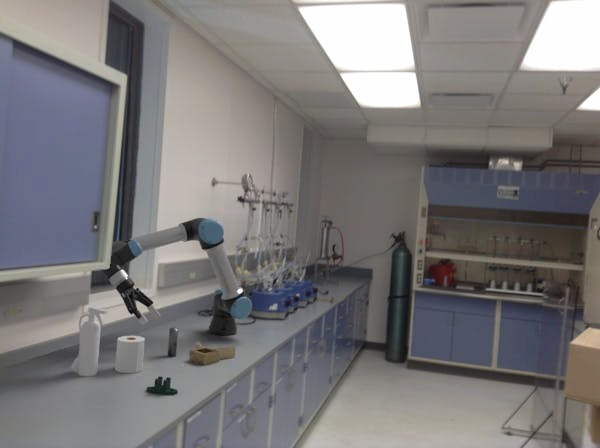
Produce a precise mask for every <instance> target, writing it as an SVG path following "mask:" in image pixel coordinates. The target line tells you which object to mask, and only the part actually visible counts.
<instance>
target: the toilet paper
mask: <svg viewBox="0 0 600 448" xmlns="http://www.w3.org/2000/svg"><path fill="white" fill-rule="evenodd" d="M145 340H146V339H145V337H143V336H140V335H139V336H138V335H123V336H119V337H118V338H117V341H116V343H117V344H116V354H115V367H114V370H115V371H116V372H117V373H121V374H122V373H123V374H134V373H139V372H142V371H143V367H144V366H143V365H144V354H145Z"/></svg>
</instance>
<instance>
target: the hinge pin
mask: <svg viewBox="0 0 600 448" xmlns="http://www.w3.org/2000/svg"><path fill="white" fill-rule="evenodd" d="M168 334H169V335H168V345H167V346H168V347H167V357H168V358H175V357H177V349H178V338H179V337H178V335H179V327H169V333H168Z"/></svg>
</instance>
